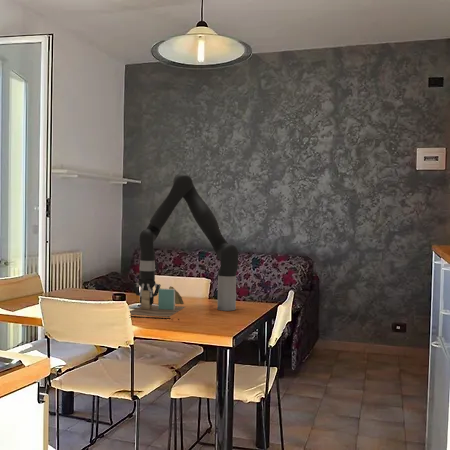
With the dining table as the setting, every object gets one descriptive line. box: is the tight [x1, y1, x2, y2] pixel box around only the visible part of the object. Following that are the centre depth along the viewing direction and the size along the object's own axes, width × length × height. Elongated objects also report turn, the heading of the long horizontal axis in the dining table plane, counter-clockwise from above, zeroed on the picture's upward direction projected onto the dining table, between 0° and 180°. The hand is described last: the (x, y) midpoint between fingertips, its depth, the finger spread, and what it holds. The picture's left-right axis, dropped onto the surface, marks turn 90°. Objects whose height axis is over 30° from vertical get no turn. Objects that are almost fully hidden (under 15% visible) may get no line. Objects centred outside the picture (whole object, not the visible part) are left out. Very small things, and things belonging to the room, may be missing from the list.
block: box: [140, 290, 153, 309], centre depth 263 cm, size 4×4×9 cm
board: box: [130, 304, 186, 320], centre depth 258 cm, size 28×22×1 cm
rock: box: [168, 286, 185, 305], centre depth 278 cm, size 11×9×10 cm
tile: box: [157, 287, 176, 310], centre depth 261 cm, size 2×8×10 cm, turn 78°
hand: (146, 304), depth 263 cm, fingers closed on block, 4 cm apart
